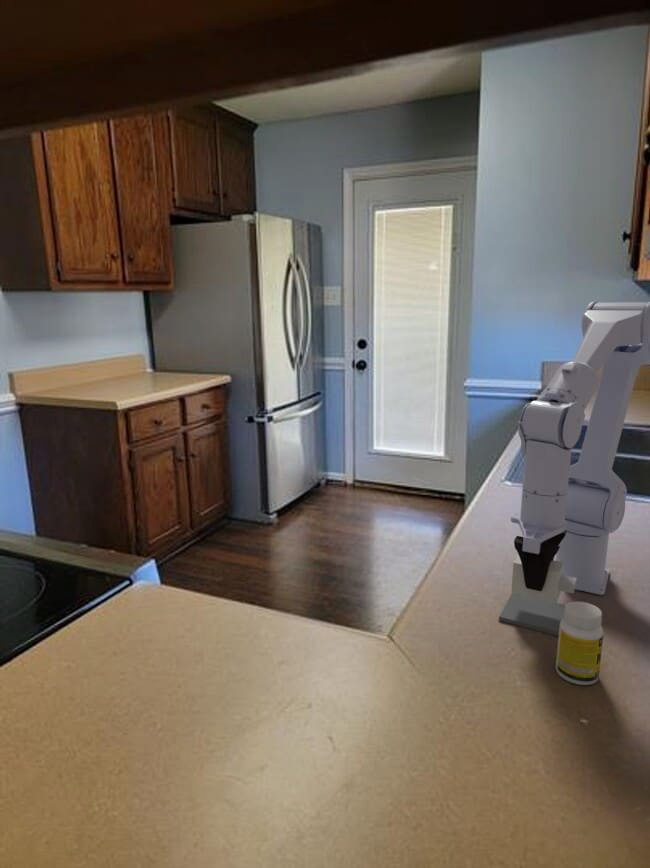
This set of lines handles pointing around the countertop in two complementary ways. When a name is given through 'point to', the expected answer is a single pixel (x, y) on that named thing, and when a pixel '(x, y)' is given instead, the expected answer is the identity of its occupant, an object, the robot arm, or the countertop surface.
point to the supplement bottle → (580, 643)
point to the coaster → (533, 613)
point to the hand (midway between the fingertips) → (537, 582)
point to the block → (552, 584)
